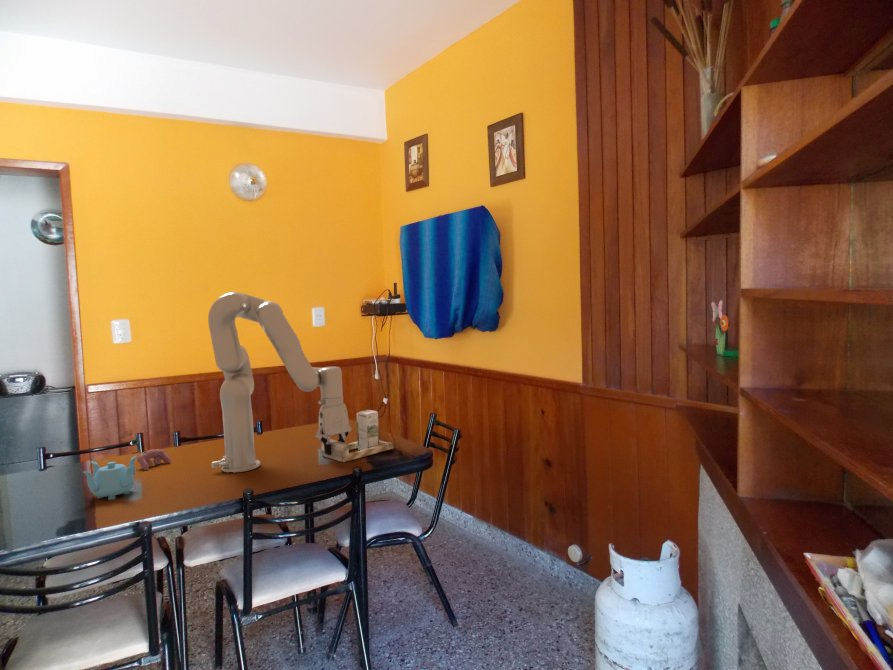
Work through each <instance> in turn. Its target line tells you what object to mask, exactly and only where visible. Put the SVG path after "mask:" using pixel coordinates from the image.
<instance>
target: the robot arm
mask: <svg viewBox="0 0 893 670" xmlns="http://www.w3.org/2000/svg"><path fill="white" fill-rule="evenodd" d="M208 311H209V312H208V317H207V324H208V329H209V334H210V338H211V339H210V340H211V344H212V349H213V354H214V360H215V364H216V367H217V368H218V369H219V370H220V371H221V372H223V377H224V381H223V382H222V384H221V386H220V390H219V399H220V407H221V411H222V412H221V413H222V425H223V427H222V428H223V440H224V454H225V455H223V456H222V457H221V458H220V460H216V461H211V463H210V465H211V466H210V467H211V468H212V469H213V468H221V471H222V472H224V473H229V472H233V474H234V473H243V472H248V471H252V470H255V469H257V468H259V467H260V466H261V461H260V460H259V459H256V451H255V436H254V435H255V433H254V417H253V409H252V399H251V396H252V394H253V393H254V389H255V381H254V376H253V375H254V374H253V370H252V367H251V362H250V356H249V354H248V350H246V347H244V346H243V345H242V344H240V341H239V340H240V339H239V333H238V330H237V327H236V319H237V318H242V319H243V320H244V319H245V320H248V321H252V322H255V323H258V324H259V326H260V327H261V329H262V330H263V332H264V334H265V335H266V336H267V338H268V340H269V342H270V343H271V345H272V346H273V348H274V349H275V352H276V353H277V355H278V357H279V358H280V360H281V362H282V363H283V365H284V367H285V370H287V372H288V374H289V376H290V377H291V378H292V380H293V381H294V384H295V385H296V386H297V387H298V388H299V390H300V391H303V392H308V393H309V392H312V391H314V390H315V389H317V387H320V400H318V405H321V406H320V407H319V412H318V430H317V431H316V432H315V435H314V437H315V438H316V439H318V440H320V442H321V441H322V443H324V451H325V454H326V455H332V451H331V444H330V439H331V437H332V436H333V437H334V436H336V435H337V436H338V439H337V441H340V442H344V443H346V440H347V437H348V435H349V433H351V431H352V430H353V428H352V427H351V425H350V420H349V414H348V413H349V412H348V409H347V406H346V403H344V395H343V373H342V369H341V367H340V366H324V367H318V366H317V367H315V366H312V365H311V363H310V362H309V359H308V358H307V356H306V354H305V353H304V351H303V348H302V344H301V342H300V341H301V340H300V339H299V337H298V335H297V334H296V332H295V331H294V329H293V328H292V326H291V325H290V323H289V321H288V320H287V318H286V316H285V314H284V311H283V309H282V307H281V306H280V304H278V303H277V302H275V301H269V300H267V299H263V298H260V297H256V296H253V295H249V294H246V293H243V292H238V291H230V292H227V293H224V294H222V295H221V296H219V297H218V298H216V300H215V301H213V304H212V305H211V307H210V309H209V310H208Z"/></svg>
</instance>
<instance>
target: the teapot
mask: <svg viewBox="0 0 893 670" xmlns="http://www.w3.org/2000/svg"><path fill="white" fill-rule="evenodd" d="M137 458H138V455H137V454H136V455H134V456H132V457H131V458H130V460H129V464H128V467H127V466H126V465H125V464H123V463H117V462H116V461H110V462H106V465H105V466H101V467H100V466H99V464H98V462H96V461H95V460H91V461H90V462H91V464H92V466H93V473H92V472H90V471H82V473H84V474H85V475H86V479H87V480H86V481H87V482H86V483H87V487H88V488H89V489H90V492H91V493H92V494H93V495H95V496H96V499H103V498H104V497H108V498H107V500H108V501H113V500H115V499H117V498H116V496H118V495H130V494H131V491H130V490H131V489H132V488H133V487H134V486H135V483H136V481H135V478H134V477H135V475H136V467H135V465H136V464H135V460H136V459H137Z"/></svg>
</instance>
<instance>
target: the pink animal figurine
mask: <svg viewBox="0 0 893 670" xmlns="http://www.w3.org/2000/svg"><path fill="white" fill-rule="evenodd" d="M136 459H137V463H138V464H139V465H140V467H141V468H142V469H143V470H144V471H148V470H149V468H150V467H152V466H153V464H154V465H155V466H158V465H160V464H161V461H163V462H164V463H165V464H168V463H169V464H171V458H170V456H169V455H168V454H167V453H166V452H165V450H162V449H161V448H155V449H154V448H153V449H149V450H146V451H144V452H142V453H140V454H139V455H137V457H136ZM151 459H153V461H152V460H151Z"/></svg>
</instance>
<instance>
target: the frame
mask: <svg viewBox="0 0 893 670" xmlns="http://www.w3.org/2000/svg"><path fill="white" fill-rule="evenodd" d="M320 442H321V445H320V446H321V447H320V448H321V456H322V457H323V458H324V457H325V458H327V459H328V458H329V459H331V460H334V461H338V462H341V463H345V462H349V461H352V460H356V459H361V458H363V457H367V456H371V455H374V454H378V453H382V452H385V451H390V450H393V442H389V441H384V440H380V439H379V446H375V447H371V448H368V449H364V450H360V451H359V450H357V451H354V452H349V451H351V450H354V449H358V440H357V441H353V442H349V443H348V442H345V443H344V442H340V441H338V440H335V439H331V438H330V444H331V451H332V455H326V454H325V451H324V443H322V441H320Z"/></svg>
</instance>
